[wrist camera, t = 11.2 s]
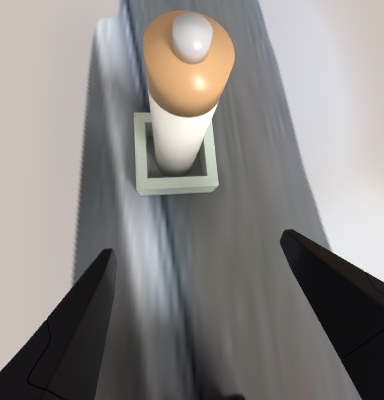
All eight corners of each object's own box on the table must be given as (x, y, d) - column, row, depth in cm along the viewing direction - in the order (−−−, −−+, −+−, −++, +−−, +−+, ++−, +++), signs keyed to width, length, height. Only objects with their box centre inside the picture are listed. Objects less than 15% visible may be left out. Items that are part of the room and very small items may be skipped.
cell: (194, 177, 21) (247, 75, 8) (157, 178, 20) (143, 72, 7) (191, 142, 22) (234, -7, 8) (155, 143, 21) (138, -18, 8)
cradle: (211, 192, 21) (218, 185, 18) (140, 196, 20) (136, 189, 17) (204, 128, 23) (210, 113, 20) (138, 129, 21) (133, 112, 18)
